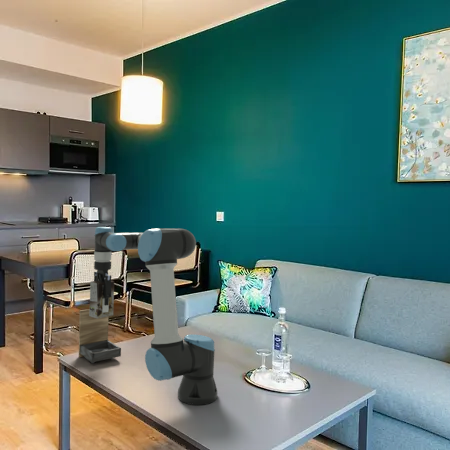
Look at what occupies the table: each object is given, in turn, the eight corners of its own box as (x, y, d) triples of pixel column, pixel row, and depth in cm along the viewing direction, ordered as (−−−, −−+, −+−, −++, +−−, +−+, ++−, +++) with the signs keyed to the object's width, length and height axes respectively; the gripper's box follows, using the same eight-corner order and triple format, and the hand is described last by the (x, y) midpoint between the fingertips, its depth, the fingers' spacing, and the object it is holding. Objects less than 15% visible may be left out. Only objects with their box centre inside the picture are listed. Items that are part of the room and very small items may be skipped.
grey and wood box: (121, 360, 203) (122, 313, 201) (91, 367, 194) (92, 317, 193) (106, 351, 214) (107, 306, 213) (78, 357, 205) (79, 310, 204)
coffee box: (97, 318, 197) (98, 283, 196) (88, 316, 201) (89, 281, 200) (113, 315, 204) (114, 280, 203) (105, 312, 208) (106, 278, 207)
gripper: (120, 263, 196) (119, 313, 197) (101, 257, 211) (100, 304, 212) (104, 264, 191) (103, 316, 192) (86, 258, 206) (85, 306, 208)
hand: (101, 310), depth 202 cm, fingers closed on coffee box, 7 cm apart
